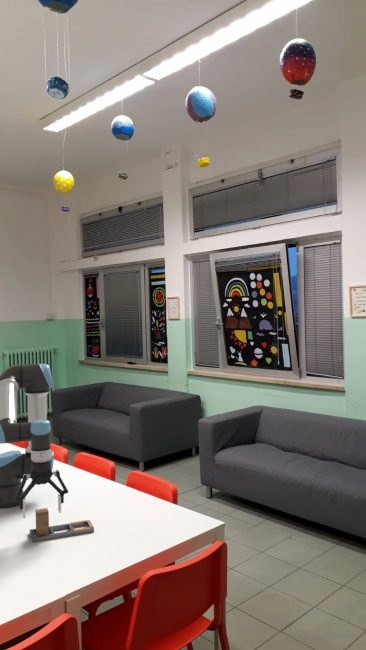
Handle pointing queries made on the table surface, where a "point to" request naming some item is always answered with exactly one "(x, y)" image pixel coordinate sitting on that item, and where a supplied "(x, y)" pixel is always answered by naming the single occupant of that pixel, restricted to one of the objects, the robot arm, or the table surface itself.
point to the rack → (63, 534)
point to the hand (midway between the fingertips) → (42, 514)
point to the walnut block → (42, 522)
